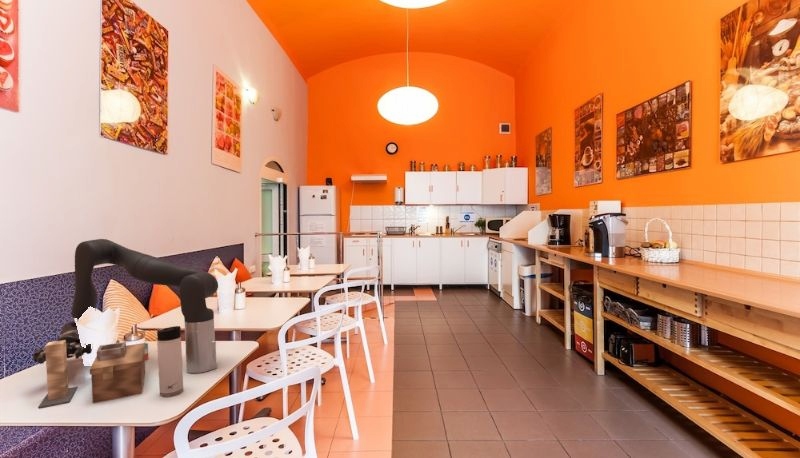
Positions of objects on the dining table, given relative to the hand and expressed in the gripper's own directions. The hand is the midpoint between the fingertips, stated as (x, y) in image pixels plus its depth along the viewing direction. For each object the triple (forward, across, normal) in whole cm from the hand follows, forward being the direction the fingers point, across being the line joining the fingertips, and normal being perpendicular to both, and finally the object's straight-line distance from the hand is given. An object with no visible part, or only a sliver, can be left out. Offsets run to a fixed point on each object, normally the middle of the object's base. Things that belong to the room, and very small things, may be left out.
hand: (59, 357), depth 126 cm
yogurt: (-17, +19, +11) cm, 27 cm away
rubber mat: (+3, 0, +11) cm, 11 cm away
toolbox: (+3, +16, +11) cm, 19 cm away
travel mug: (+17, +30, +11) cm, 36 cm away
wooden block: (+3, 0, +10) cm, 11 cm away
